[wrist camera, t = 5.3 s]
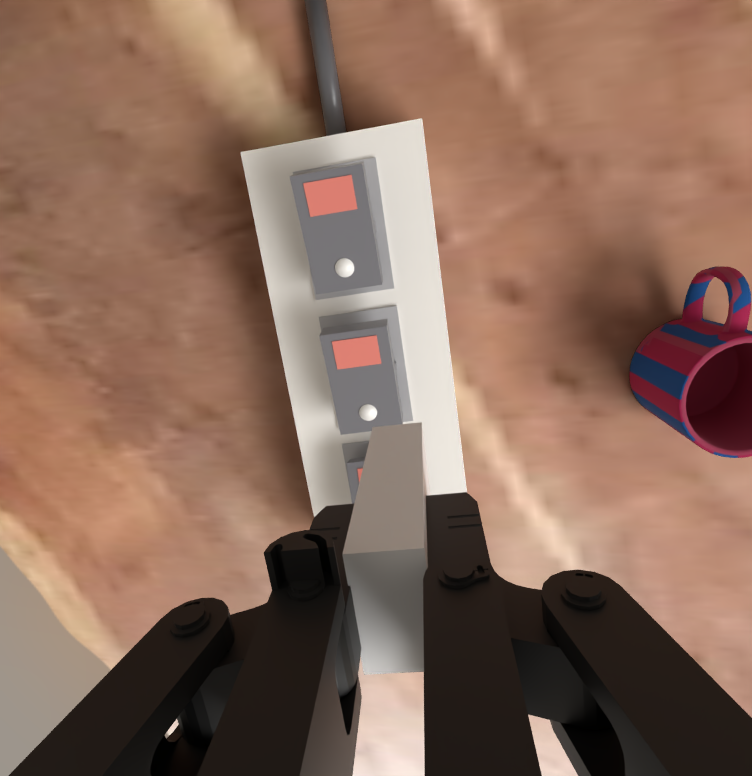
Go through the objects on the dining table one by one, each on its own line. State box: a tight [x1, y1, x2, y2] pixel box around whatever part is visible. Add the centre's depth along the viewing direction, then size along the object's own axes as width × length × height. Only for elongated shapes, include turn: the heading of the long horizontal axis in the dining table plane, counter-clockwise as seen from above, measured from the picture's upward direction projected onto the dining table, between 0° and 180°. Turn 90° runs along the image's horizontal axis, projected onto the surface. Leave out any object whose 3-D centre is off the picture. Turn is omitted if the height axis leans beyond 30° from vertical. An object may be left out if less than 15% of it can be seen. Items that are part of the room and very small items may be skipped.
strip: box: [240, 0, 467, 517], centre depth 32 cm, size 34×10×5 cm, turn 9°
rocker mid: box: [319, 319, 403, 435], centre depth 29 cm, size 6×4×2 cm, turn 9°
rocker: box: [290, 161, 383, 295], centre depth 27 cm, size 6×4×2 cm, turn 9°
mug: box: [629, 267, 752, 458], centre depth 30 cm, size 7×10×7 cm
